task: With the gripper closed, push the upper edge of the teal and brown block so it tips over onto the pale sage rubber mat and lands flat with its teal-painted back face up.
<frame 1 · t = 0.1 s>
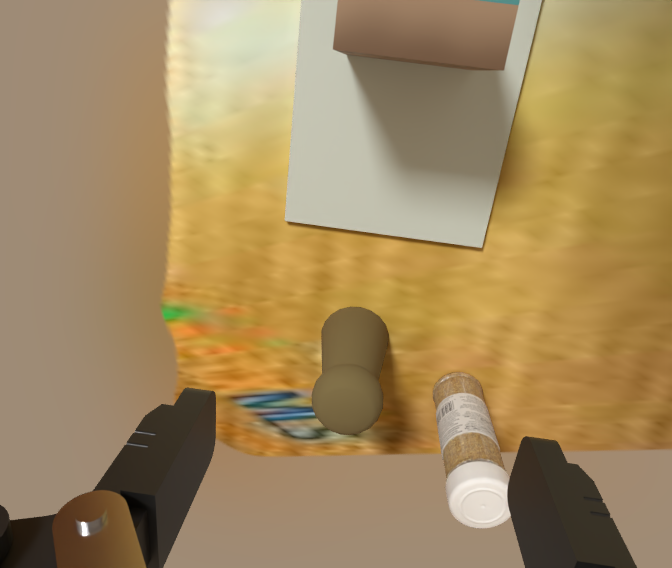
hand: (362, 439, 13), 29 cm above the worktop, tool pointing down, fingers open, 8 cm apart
sage mat: (406, 81, 37), on the worktop
teal and brown block: (413, 35, 35), resting on sage mat
brown rounded upright piece: (354, 336, 45), on the worktop
sprinkles bottle: (456, 389, 47), on the worktop
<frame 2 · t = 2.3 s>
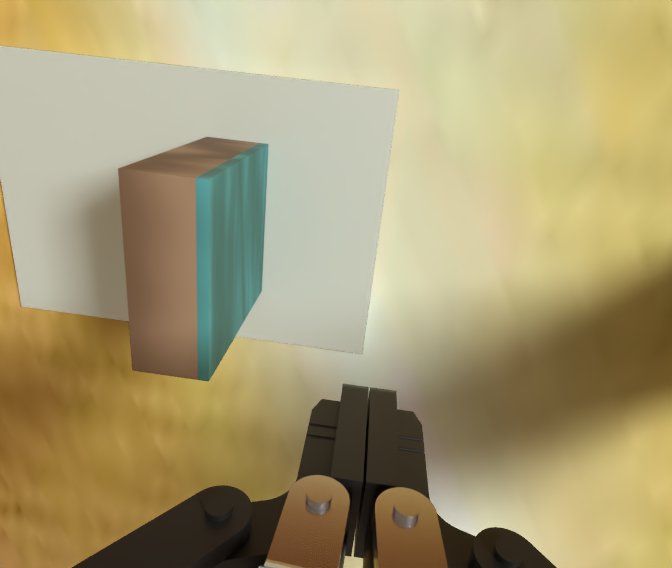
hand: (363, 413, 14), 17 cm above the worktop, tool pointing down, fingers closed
sage mat: (189, 209, 30), on the worktop
teal and brown block: (235, 218, 30), resting on sage mat
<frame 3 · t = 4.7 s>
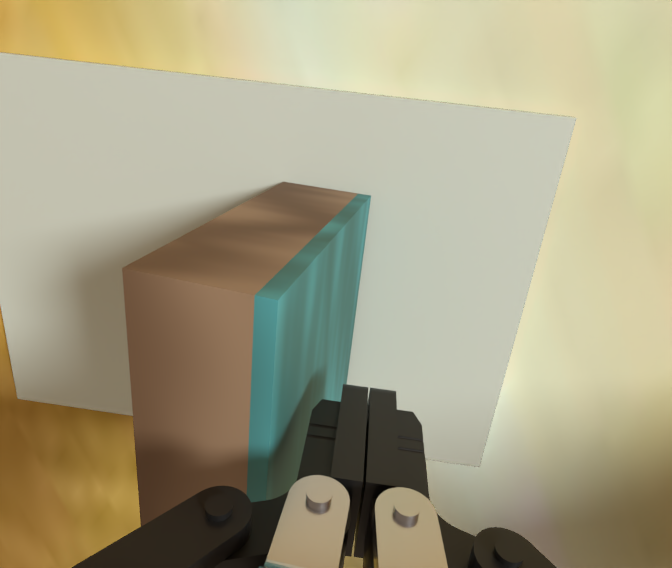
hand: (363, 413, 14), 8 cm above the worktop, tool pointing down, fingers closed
sage mat: (251, 278, 22), on the worktop
teal and brown block: (316, 294, 21), point 1 cm above the worktop, tilted 9°, touching sage mat
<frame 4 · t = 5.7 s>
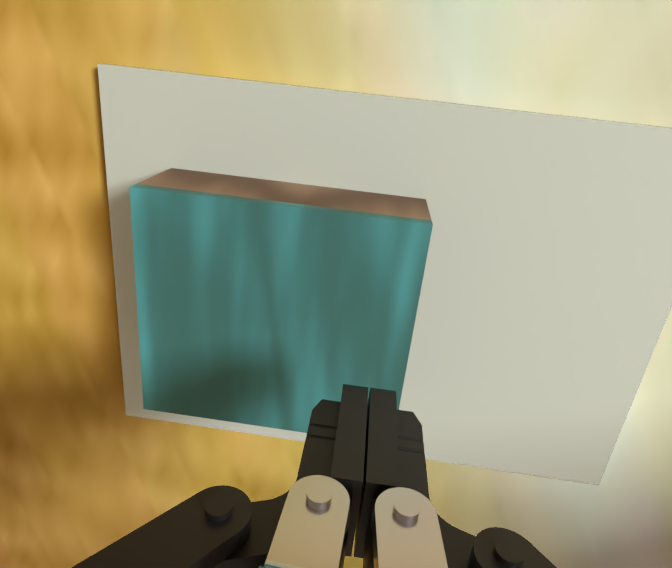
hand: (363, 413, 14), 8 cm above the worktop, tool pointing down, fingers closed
sage mat: (379, 295, 22), on the worktop
teal and brown block: (408, 323, 20), point 2 cm above the worktop, tilted 90°, touching sage mat
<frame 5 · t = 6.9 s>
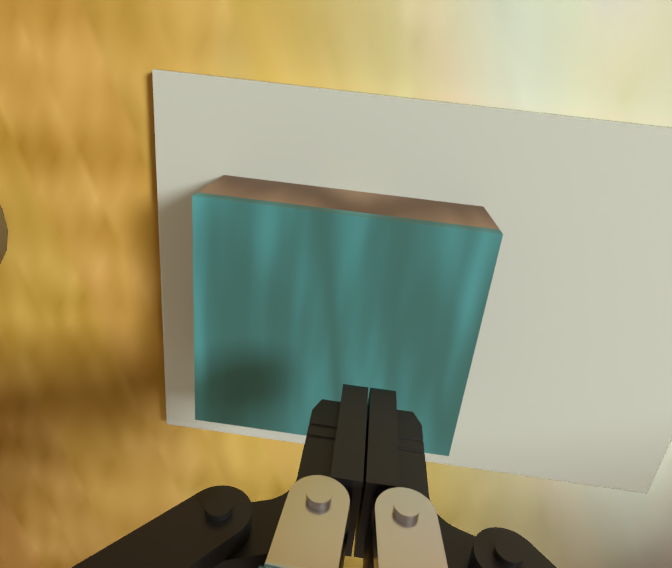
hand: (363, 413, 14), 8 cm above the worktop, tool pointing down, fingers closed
sage mat: (430, 303, 21), on the worktop
teal and brown block: (465, 332, 19), point 2 cm above the worktop, tilted 90°, touching sage mat
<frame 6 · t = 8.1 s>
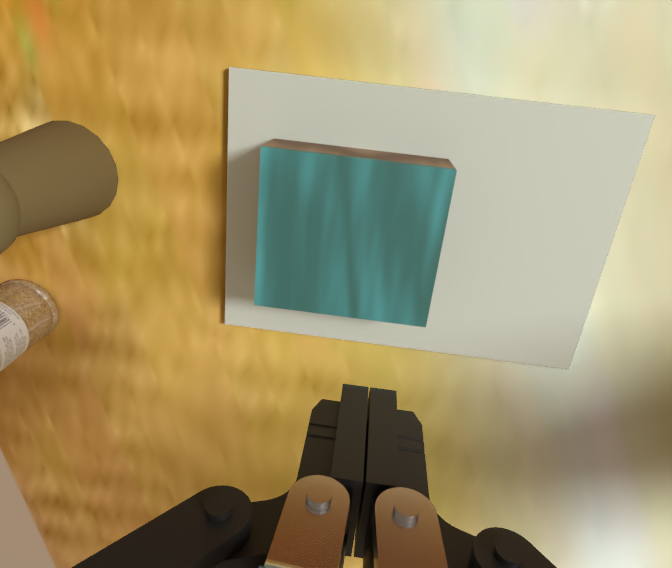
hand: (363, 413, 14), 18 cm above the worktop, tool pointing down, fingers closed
sage mat: (413, 229, 31), on the worktop
teal and brown block: (437, 243, 29), point 2 cm above the worktop, tilted 90°, touching sage mat
brown rounded upright piece: (72, 170, 31), on the worktop
sprinkles bottle: (32, 305, 36), on the worktop
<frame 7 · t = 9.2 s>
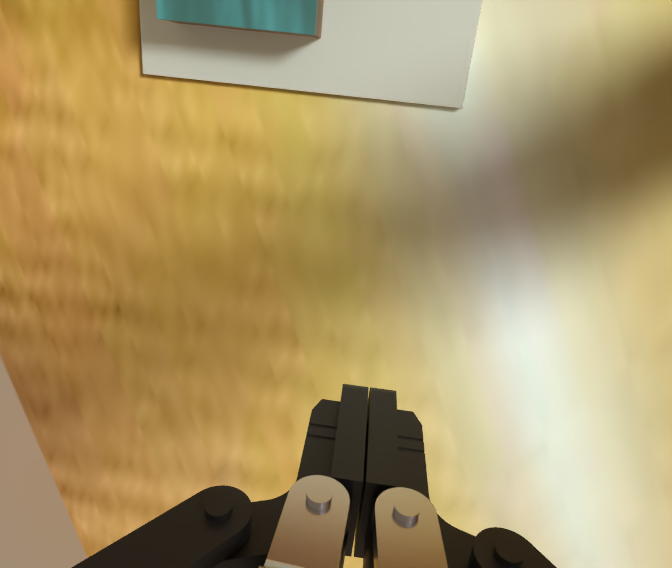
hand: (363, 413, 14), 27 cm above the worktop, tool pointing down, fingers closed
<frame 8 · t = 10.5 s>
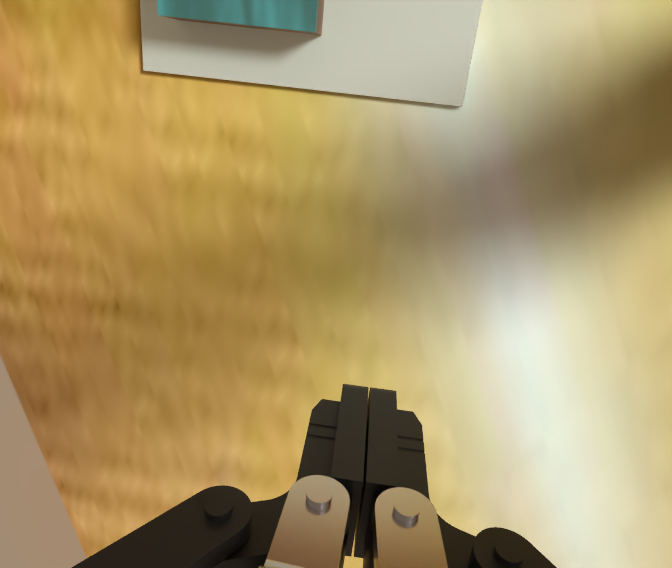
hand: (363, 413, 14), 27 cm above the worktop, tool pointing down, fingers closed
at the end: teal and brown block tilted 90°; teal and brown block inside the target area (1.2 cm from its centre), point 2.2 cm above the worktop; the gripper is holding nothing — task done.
